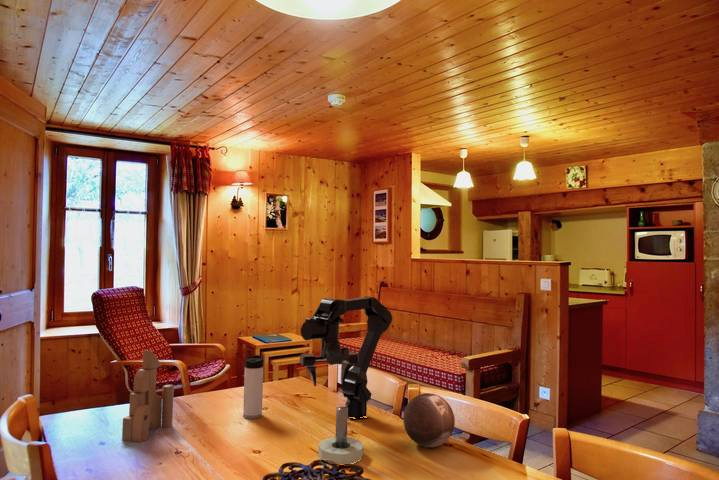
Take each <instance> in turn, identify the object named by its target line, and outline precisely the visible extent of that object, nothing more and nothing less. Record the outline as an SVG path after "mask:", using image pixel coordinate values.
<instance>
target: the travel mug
mask: <svg viewBox="0 0 719 480" xmlns="http://www.w3.org/2000/svg"><path fill="white" fill-rule="evenodd" d="M244 359H245V360H244V377H243V378H244V381H243V382H244V384H243V412H242V413H243V414H242V417H243V418H245V419H247V420H255V419H259V418H261V417H262V416H263V393H264V357H263V356H260V355H259V354H254V355H251V356H247V357H245V358H244Z"/></svg>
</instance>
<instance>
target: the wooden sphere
mask: <svg viewBox="0 0 719 480" xmlns="http://www.w3.org/2000/svg"><path fill="white" fill-rule="evenodd" d="M402 420H403V427H404V430H405V432H406V434H407V436H408V437H409V438H410V440H412V441H413V442H414V443H415V444H416V445H418V446H421V447H423V446H424V448H429V447H431V448H437V447H440V446H441V445H443V444H445V443H446V442H447V441H449V439H450V438H451V436H452V434H453V433H454V430H455V422H456V419H455V413H454V411H453V409H452V406H451V405H450V404H449V402H448V401H447V400H446V399H444V398H443V397H442V396H440V395H438V394H436V393H431V392H427V393H426V392H425V393H421V394H418V395H416V396H414V397H413V398H412V399H411V400H409V402H408V403H407V404H406V406H405V409H404V412H403V419H402Z"/></svg>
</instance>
